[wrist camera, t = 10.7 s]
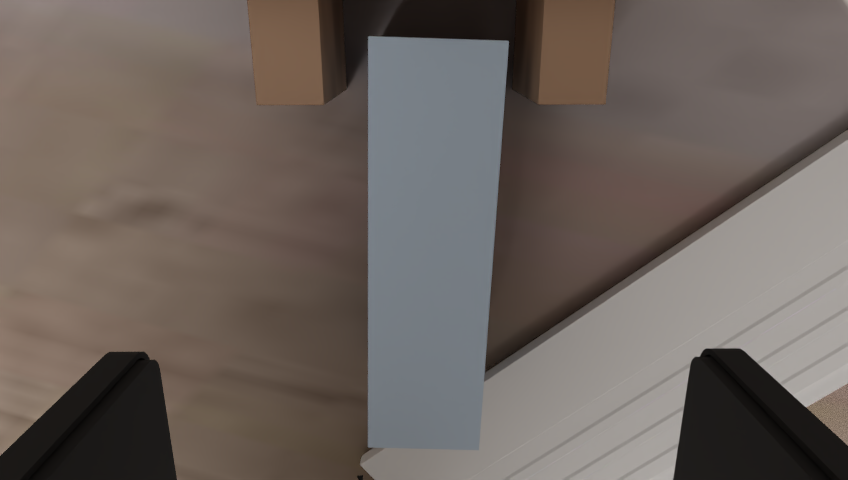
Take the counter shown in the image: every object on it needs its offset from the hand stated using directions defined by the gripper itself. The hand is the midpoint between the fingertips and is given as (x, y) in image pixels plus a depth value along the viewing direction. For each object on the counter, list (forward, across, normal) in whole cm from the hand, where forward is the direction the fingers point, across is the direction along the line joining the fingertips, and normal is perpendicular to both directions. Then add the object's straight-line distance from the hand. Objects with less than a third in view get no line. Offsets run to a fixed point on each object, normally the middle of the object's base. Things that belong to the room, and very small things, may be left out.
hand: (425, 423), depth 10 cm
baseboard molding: (+16, -13, +7) cm, 22 cm away
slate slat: (+15, 0, 0) cm, 15 cm away
